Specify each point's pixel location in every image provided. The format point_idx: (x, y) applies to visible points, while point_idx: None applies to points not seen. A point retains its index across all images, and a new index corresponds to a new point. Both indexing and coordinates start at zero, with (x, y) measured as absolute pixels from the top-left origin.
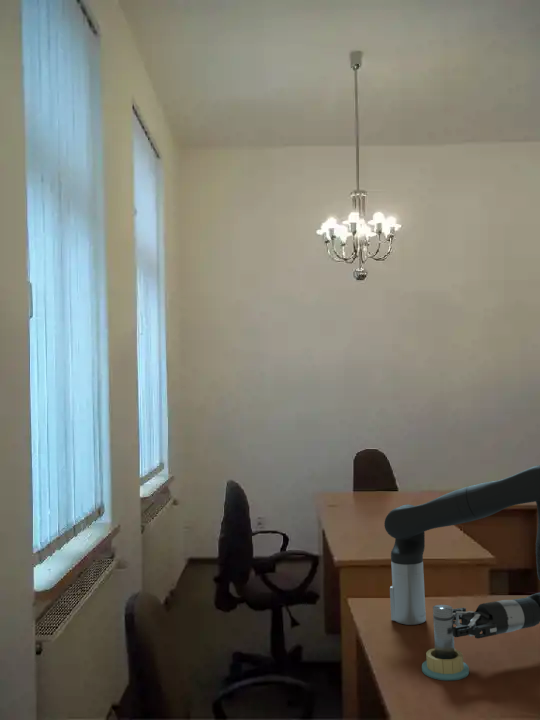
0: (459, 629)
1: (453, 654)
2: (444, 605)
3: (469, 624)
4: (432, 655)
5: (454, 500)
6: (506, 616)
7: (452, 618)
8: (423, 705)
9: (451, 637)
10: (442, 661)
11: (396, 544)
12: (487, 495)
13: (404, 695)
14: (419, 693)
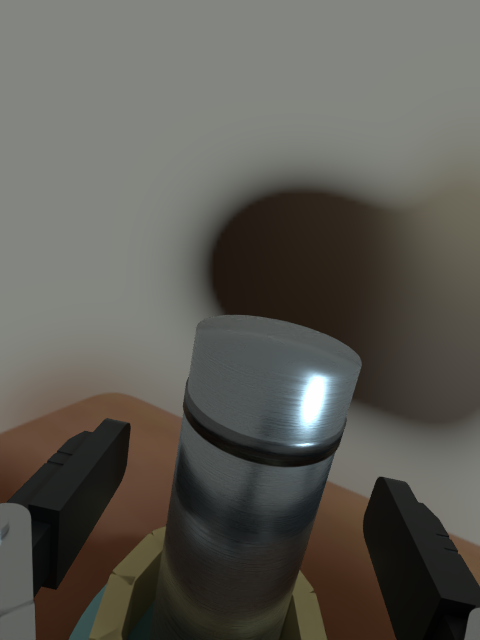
0: (78, 446)
1: (152, 631)
2: (330, 365)
3: (6, 516)
4: None
5: None
6: None
7: (191, 421)
8: (78, 430)
9: (167, 524)
10: (152, 534)
11: None
12: None
13: (153, 435)
14: (131, 461)
